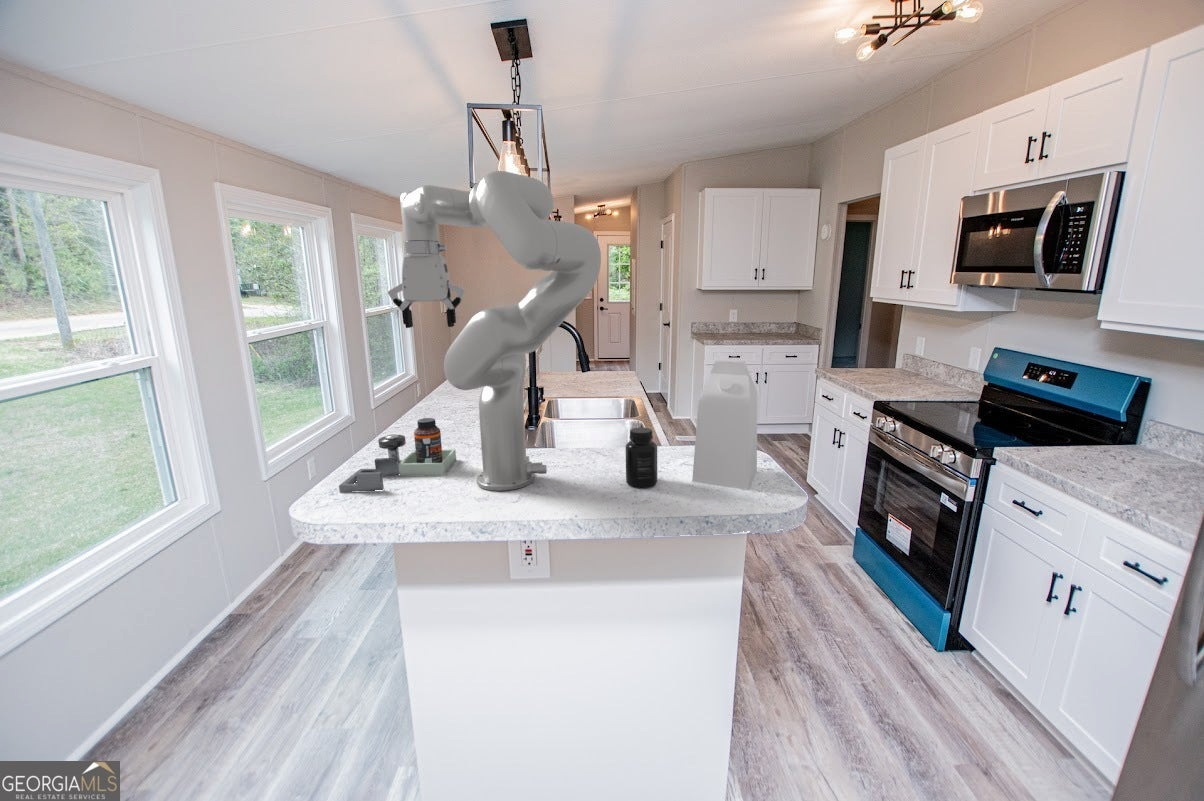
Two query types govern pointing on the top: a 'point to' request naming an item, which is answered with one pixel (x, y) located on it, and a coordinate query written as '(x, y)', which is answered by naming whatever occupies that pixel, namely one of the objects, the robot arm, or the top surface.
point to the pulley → (392, 444)
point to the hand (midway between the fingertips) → (430, 327)
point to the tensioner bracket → (371, 476)
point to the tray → (426, 465)
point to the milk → (727, 428)
